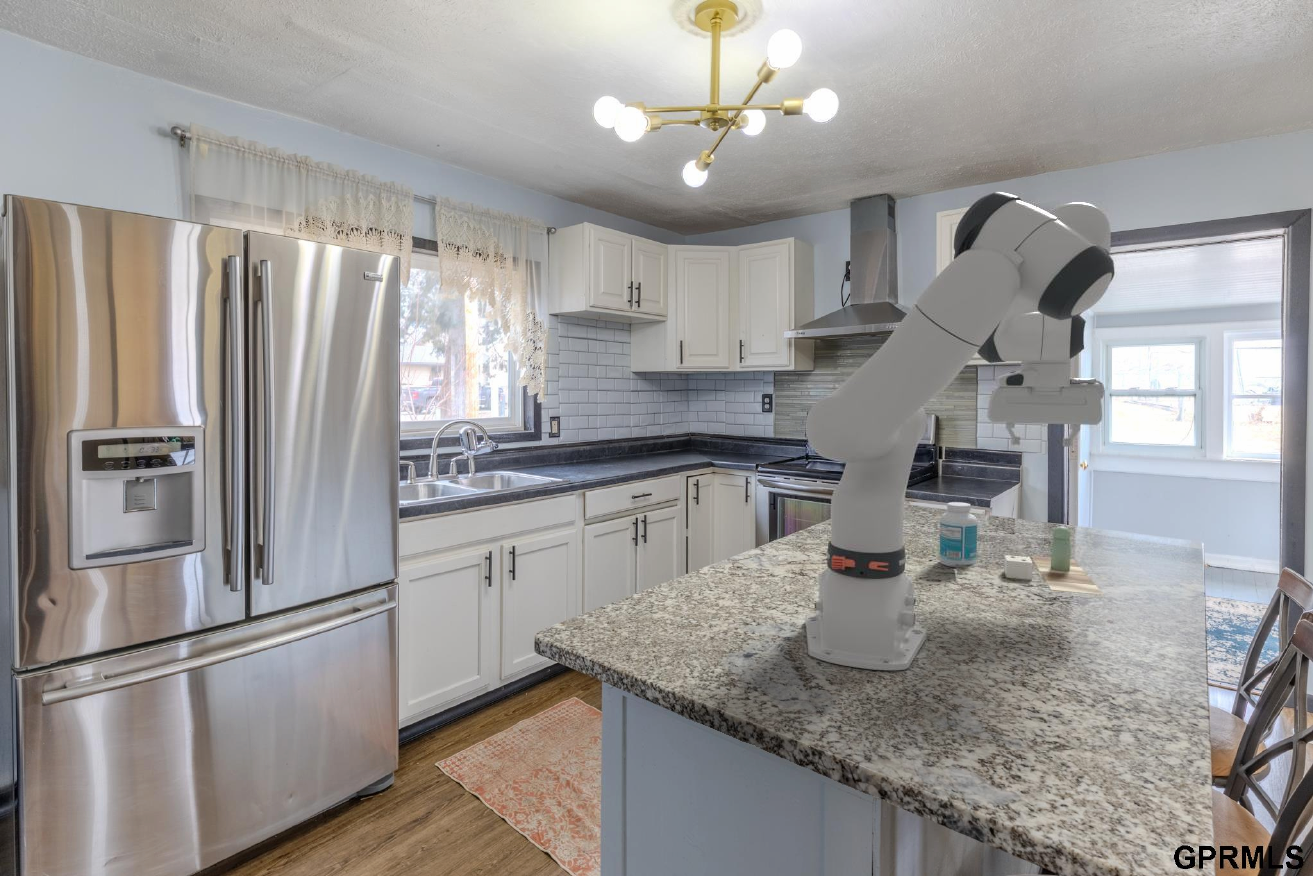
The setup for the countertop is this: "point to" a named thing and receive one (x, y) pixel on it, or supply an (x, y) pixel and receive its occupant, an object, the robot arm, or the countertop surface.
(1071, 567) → the board
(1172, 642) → the countertop surface
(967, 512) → the pill bottle
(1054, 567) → the green bottle
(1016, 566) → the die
